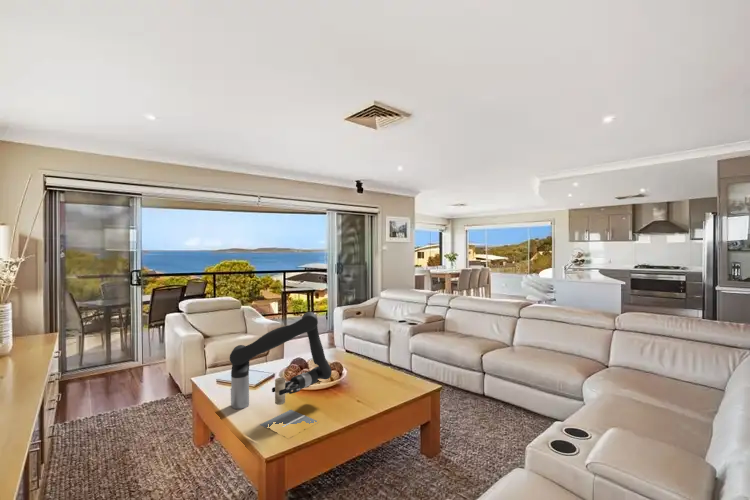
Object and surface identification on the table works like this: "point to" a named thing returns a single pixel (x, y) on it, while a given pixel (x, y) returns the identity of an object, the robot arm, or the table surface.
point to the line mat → (288, 419)
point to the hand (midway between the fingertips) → (276, 391)
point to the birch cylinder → (279, 386)
